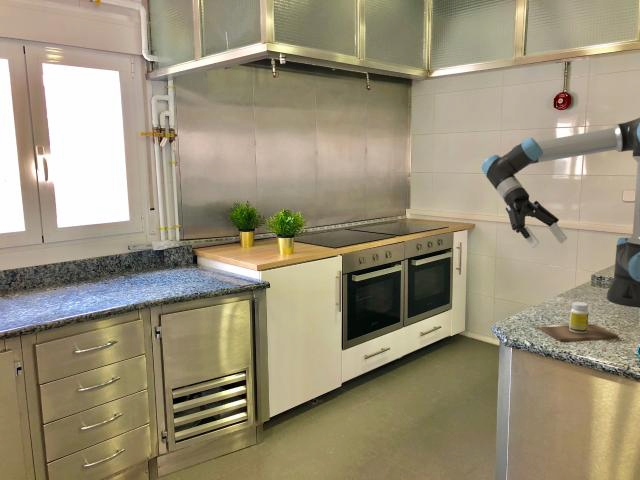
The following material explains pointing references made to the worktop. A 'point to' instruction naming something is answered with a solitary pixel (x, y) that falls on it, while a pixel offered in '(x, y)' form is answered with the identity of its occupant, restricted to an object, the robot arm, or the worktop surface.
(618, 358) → the worktop surface
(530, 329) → the worktop surface
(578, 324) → the supplement bottle
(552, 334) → the walnut board
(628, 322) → the worktop surface
